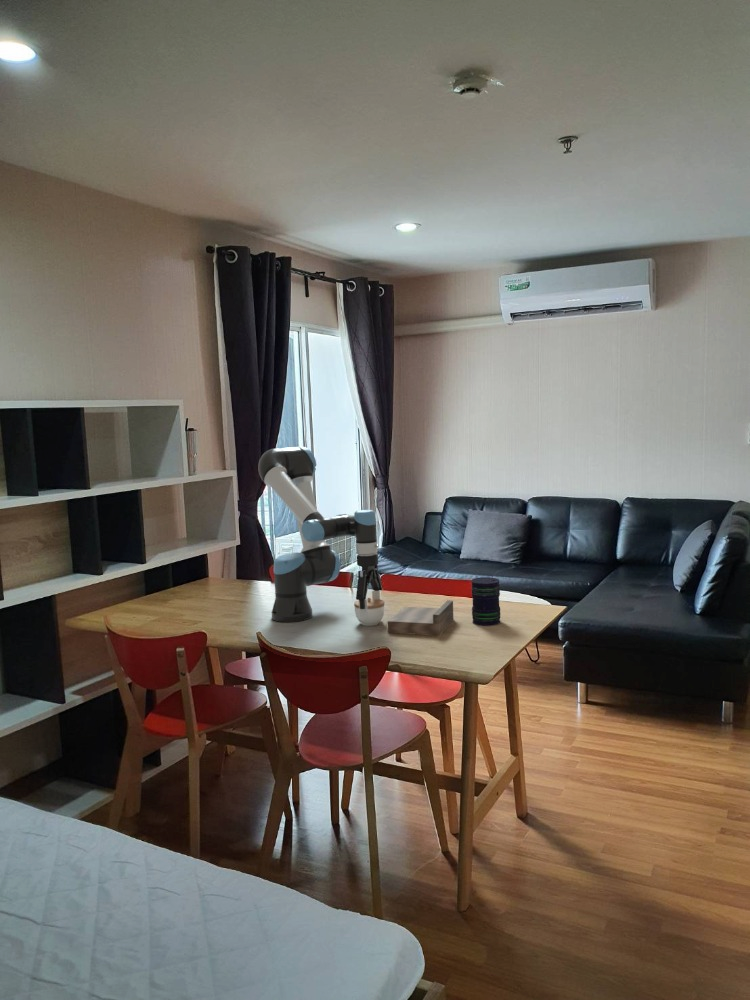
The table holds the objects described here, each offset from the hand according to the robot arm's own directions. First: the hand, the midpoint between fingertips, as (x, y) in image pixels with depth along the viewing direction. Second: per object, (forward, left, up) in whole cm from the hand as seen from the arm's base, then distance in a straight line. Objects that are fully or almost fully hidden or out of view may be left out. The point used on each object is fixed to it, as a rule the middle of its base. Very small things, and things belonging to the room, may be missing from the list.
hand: (370, 613), depth 273 cm
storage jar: (+40, +9, -4) cm, 41 cm away
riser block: (+19, 0, -4) cm, 19 cm away
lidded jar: (0, 0, -4) cm, 4 cm away
